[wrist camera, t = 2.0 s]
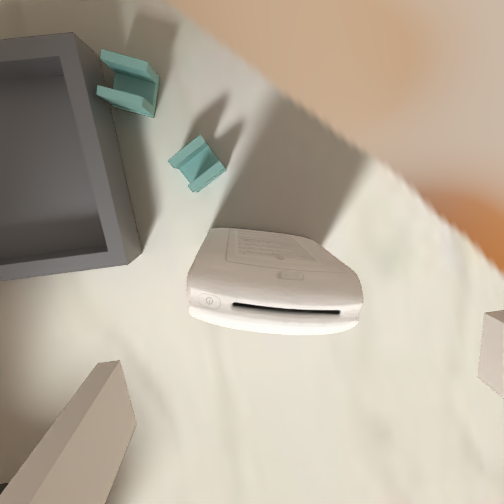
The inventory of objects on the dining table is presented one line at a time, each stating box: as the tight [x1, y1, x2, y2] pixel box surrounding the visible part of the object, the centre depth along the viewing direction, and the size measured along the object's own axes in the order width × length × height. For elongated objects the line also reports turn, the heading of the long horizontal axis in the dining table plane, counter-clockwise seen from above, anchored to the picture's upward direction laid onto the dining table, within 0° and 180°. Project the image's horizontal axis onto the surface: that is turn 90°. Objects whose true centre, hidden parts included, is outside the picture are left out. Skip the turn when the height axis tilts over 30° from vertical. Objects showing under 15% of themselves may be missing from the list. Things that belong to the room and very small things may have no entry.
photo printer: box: [186, 228, 363, 335], centre depth 20 cm, size 10×4×12 cm, turn 83°
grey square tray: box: [0, 32, 142, 281], centre depth 21 cm, size 15×15×4 cm
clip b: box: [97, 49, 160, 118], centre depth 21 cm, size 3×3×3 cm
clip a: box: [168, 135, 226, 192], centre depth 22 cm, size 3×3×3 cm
